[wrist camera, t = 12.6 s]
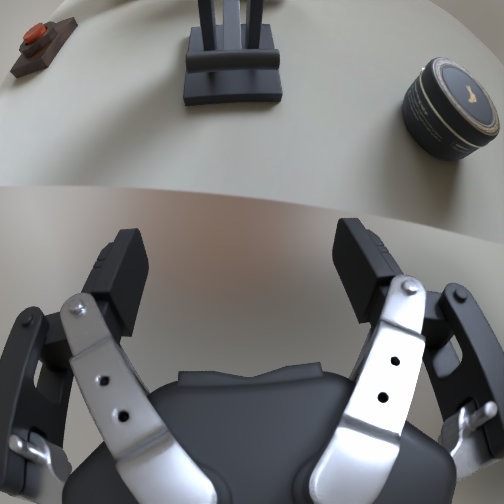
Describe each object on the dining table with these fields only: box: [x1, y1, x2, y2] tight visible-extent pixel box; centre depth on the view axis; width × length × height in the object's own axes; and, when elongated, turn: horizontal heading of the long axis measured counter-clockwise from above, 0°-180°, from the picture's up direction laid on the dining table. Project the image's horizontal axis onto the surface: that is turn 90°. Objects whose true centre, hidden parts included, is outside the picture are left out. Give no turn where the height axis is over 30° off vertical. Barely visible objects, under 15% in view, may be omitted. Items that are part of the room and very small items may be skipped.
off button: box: [23, 23, 46, 45], centre depth 20 cm, size 4×4×2 cm
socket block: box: [10, 17, 78, 78], centre depth 22 cm, size 10×8×4 cm
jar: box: [402, 58, 500, 161], centre depth 20 cm, size 10×10×8 cm
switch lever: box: [186, 0, 280, 74], centre depth 13 cm, size 12×6×2 cm, turn 3°
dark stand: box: [183, 0, 282, 106], centre depth 17 cm, size 12×9×14 cm
